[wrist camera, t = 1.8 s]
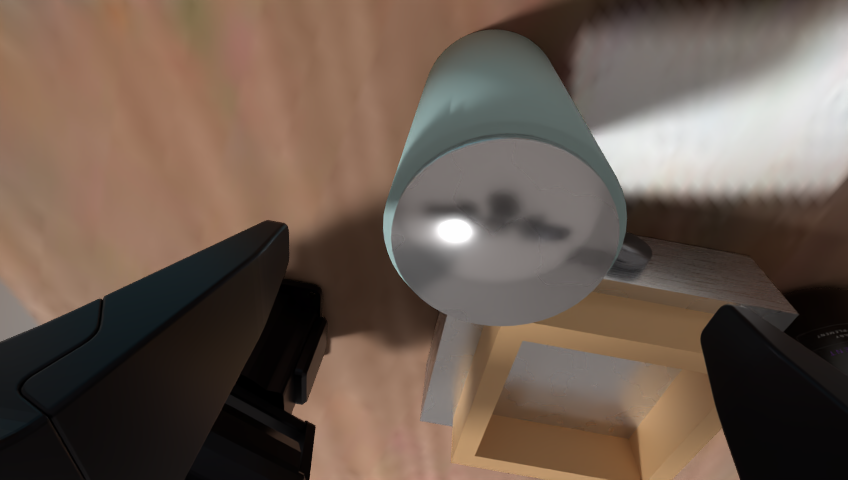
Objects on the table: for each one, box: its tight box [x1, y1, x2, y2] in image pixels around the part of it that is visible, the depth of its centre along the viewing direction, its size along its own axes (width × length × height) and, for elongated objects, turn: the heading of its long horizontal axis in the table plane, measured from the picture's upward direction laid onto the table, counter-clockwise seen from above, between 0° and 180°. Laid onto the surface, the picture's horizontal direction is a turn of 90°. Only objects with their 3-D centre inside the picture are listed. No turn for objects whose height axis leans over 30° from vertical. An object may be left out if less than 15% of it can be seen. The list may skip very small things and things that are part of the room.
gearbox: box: [420, 232, 799, 480], centre depth 22 cm, size 14×13×6 cm
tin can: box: [383, 29, 627, 326], centre depth 14 cm, size 6×6×10 cm
